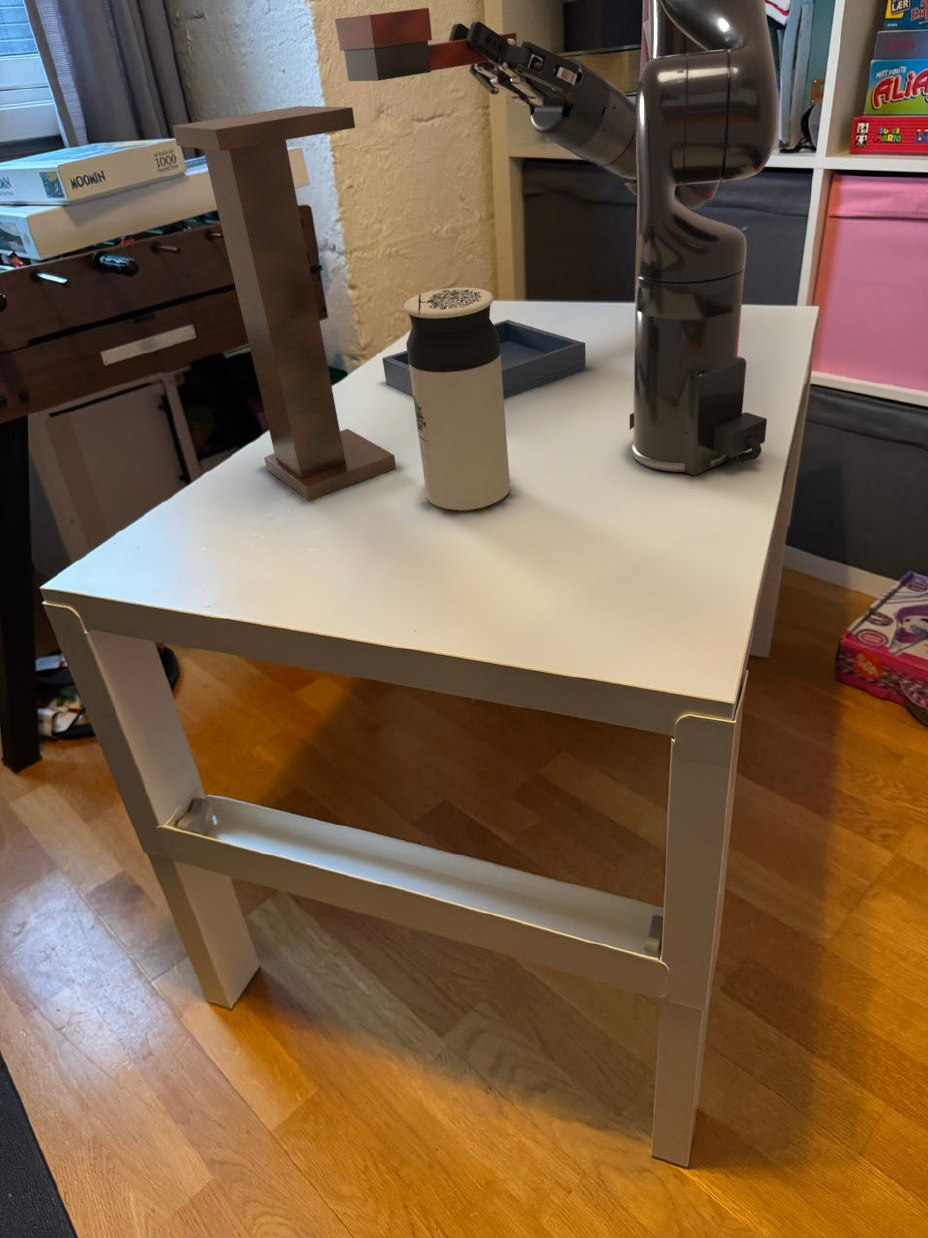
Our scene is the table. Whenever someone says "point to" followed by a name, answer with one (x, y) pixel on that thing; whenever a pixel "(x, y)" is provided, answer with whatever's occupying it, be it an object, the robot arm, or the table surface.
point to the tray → (513, 359)
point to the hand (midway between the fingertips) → (462, 33)
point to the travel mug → (458, 397)
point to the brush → (398, 46)
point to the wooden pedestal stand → (282, 293)
